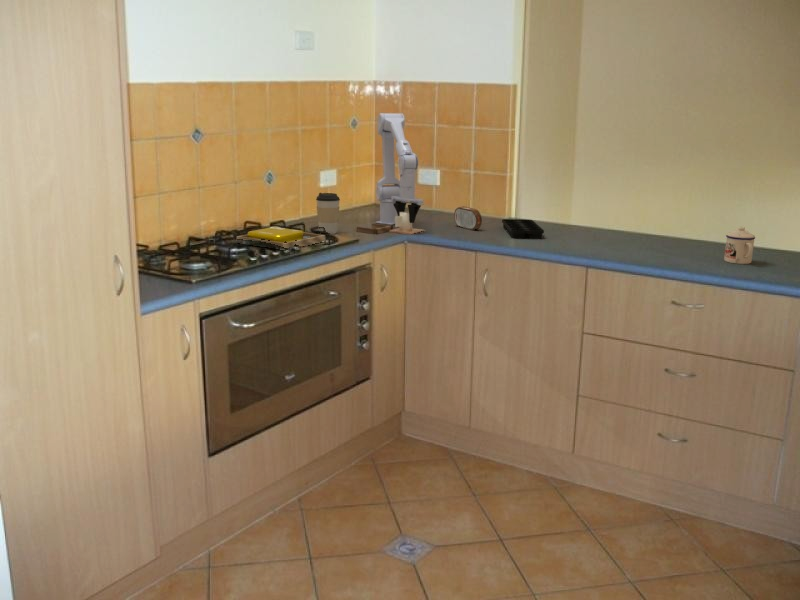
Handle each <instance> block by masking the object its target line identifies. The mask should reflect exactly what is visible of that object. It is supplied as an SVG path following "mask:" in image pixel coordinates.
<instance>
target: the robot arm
mask: <svg viewBox="0 0 800 600" xmlns="http://www.w3.org/2000/svg"><path fill="white" fill-rule="evenodd" d="M405 124H406V117H405V115H404V114H403V112H401V113H395V112H394V113H389V112H388V113H387V112H386V113H383V112H380V113H379V114H378V117H377V124H376V125H377V133H378V135H380V136H381V141H382V144H381V145H382V147H381V150H382V151H381V152H382V176H383V177H381V178H380V179H379V180H378V181H377V182H376V189H375V196H376V199H377V200H378V202H379V212H380V213H379V220H378V221H375V224H382V225H390V226H393V225H395V216H400V212H402V211H405V210H406V207H407V209H408V212H409V221H410V223H412V224H414V223H415V220H416V217H417V215H418V212H419V210H420V209H421V206H423V205H424V199H422V198H416V171H417V169H418V167H419V158H418V156H417V154H415V152H413V150H412V147H411V145H410V144H411V143H410V142H409V141H408V140H407V139H406V137H405V133H404V128H405ZM395 142H396V143H395ZM395 151H396V154H397V158H398V161H397V162H398V163H397V165H398V166H397V167H398V174H399V176H400V177H399V178H397V177H396V161H395V159H396V158H395ZM399 179H400V180H399Z"/></svg>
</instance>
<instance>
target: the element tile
mask: <svg viewBox="0 0 800 600" xmlns="http://www.w3.org/2000/svg"><path fill="white" fill-rule="evenodd" d="M303 232H304V231H303V230H300V229H293V228H291V229H290V228H285V227H280V226H270V227H266V228H261V229H256V230H251V231H248V232H247V234H248V238H255V239H265V240H270V241H275V242H281V243H284V242H285V241H286V242H292V241H295V240H301V239H303Z"/></svg>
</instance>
